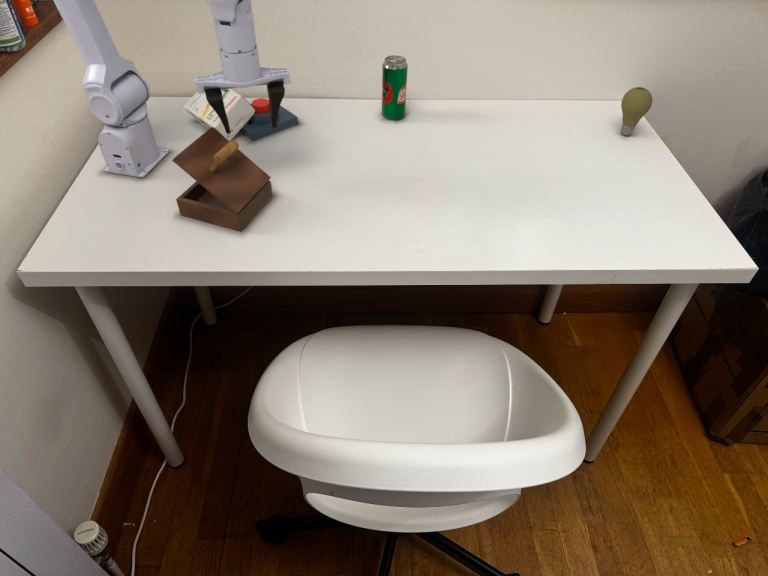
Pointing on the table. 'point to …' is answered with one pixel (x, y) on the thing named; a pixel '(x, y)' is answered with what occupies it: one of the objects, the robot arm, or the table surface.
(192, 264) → the table surface
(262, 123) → the box
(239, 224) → the chest
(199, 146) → the chest lid
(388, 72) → the soda can
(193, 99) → the ink box
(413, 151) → the table surface
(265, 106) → the button
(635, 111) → the light bulb
